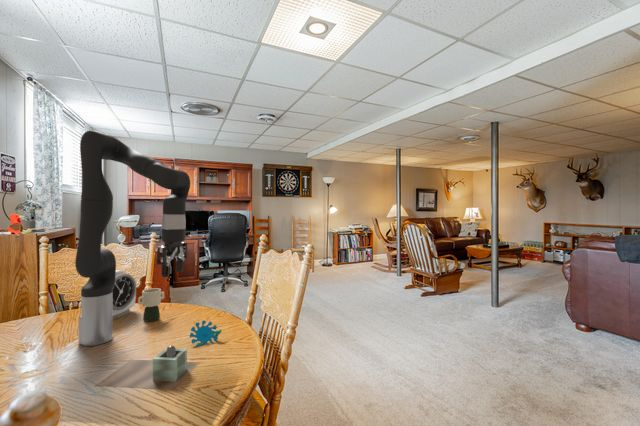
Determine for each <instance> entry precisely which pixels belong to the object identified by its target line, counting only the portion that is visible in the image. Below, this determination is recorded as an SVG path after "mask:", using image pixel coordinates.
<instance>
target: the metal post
mask: <svg viewBox="0 0 640 426" xmlns="http://www.w3.org/2000/svg"><path fill="white" fill-rule="evenodd" d="M166 348H167V350H166V358H174V357H175V356H176V349H177V348H176V347H175V346H174V345H168V346H167V347H166Z"/></svg>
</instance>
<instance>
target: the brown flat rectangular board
mask: <svg viewBox="0 0 640 426" xmlns="http://www.w3.org/2000/svg"><path fill="white" fill-rule="evenodd" d="M199 364H200V362H194V361H187V370H186V371H185V372H184V373H183V374H182V375H181V376H180V377H179V378H178V379H177V380H176V381H175V382H172V381H153V359H152V360H151V359H129V360H128V361H127V362H125V364H123V365H121V366H120V367H119V368H117V369H116V370H115V371H114V372H112V373H110V374H109V375H108V376H106V377H105V378H104V379H102V380H101V381H99V382H98V383H97V384H96V385H95V387H110V388H111V387H112V388H126V389H127V388H128V389H129V388H130V389H131V388H132V389H147V390H149V389H150V390H166V391H167V390H168V391H170V390H171V391H175V390H176V389H177V388H178V387H179V386H180V384H181V383H182V382H183V381H184V380H185V379H186V378H187V377H188V376H189V375H190V374H191V372H193V370H194V369H195V368H196V367H197V366H198V365H199Z"/></svg>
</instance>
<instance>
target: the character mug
mask: <svg viewBox="0 0 640 426" xmlns="http://www.w3.org/2000/svg"><path fill="white" fill-rule="evenodd" d="M164 299H165V291H162V289H161V288H158V287H157V288H156V287H153V288H146V289H143V290H142V292H141V296H139V297H137V304H138V305H139V306H140V305H142V306H143V307H144V312H143V320H142V321H146V322H154V321H157V320H160V318H161V316H160V315H161V314H160V309H159V306H160V305H161V302H162V300H164Z"/></svg>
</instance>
